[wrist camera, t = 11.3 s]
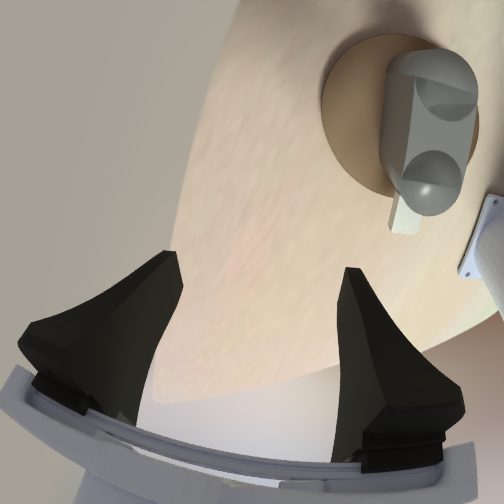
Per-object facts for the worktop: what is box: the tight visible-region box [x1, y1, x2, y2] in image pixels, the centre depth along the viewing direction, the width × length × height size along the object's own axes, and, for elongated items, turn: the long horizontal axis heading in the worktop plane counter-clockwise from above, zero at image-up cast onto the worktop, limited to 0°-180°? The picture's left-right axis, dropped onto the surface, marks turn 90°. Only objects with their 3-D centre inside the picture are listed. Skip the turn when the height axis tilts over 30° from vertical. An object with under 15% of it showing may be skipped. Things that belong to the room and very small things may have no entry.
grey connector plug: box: [379, 49, 478, 235], centre depth 13 cm, size 11×4×5 cm, turn 1°
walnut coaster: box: [321, 34, 479, 198], centre depth 15 cm, size 11×11×1 cm
